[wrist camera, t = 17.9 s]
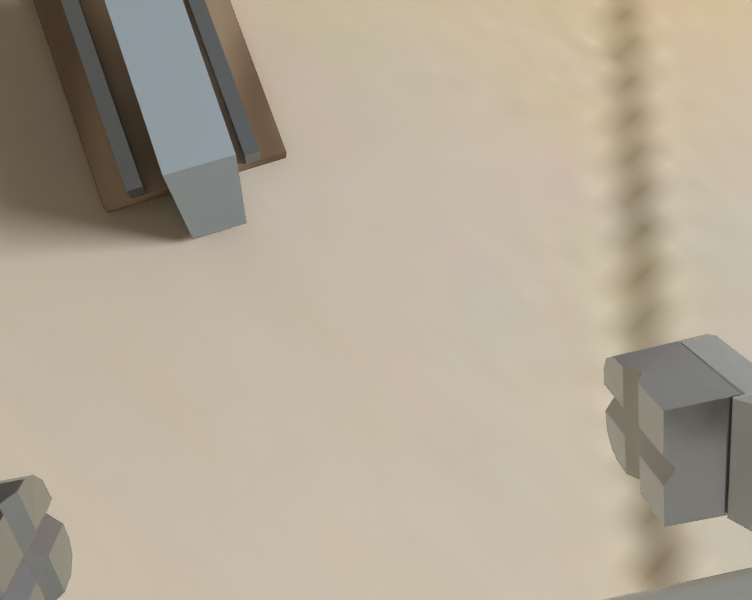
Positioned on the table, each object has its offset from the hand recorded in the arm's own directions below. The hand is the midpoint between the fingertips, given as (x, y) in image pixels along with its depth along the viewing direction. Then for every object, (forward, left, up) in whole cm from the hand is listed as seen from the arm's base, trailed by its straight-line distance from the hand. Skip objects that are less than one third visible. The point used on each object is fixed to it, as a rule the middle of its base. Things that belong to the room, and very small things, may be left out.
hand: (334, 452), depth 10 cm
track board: (0, +27, -35) cm, 44 cm away
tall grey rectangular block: (0, +21, -34) cm, 40 cm away
